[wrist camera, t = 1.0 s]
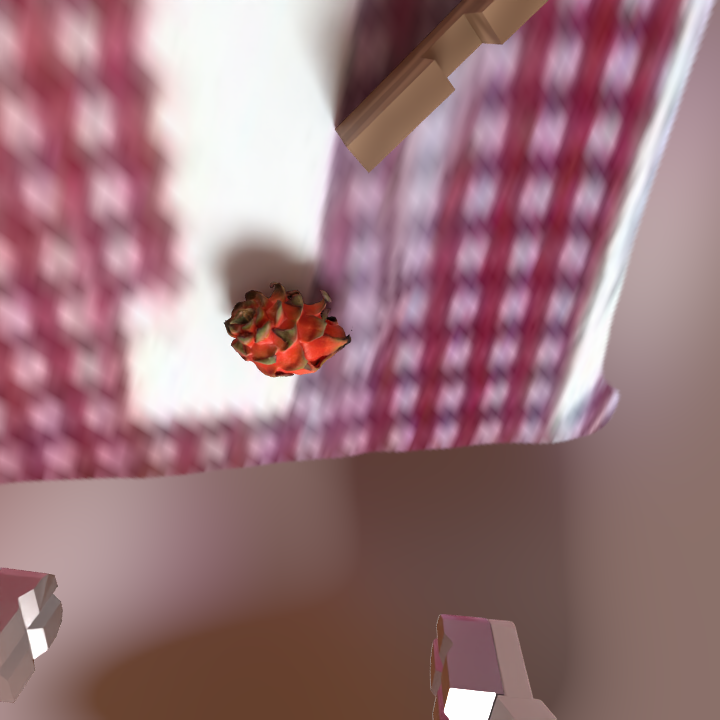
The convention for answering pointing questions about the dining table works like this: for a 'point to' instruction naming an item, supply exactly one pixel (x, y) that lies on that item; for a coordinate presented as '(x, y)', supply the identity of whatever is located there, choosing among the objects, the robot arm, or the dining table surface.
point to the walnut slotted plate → (428, 75)
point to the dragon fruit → (284, 332)
